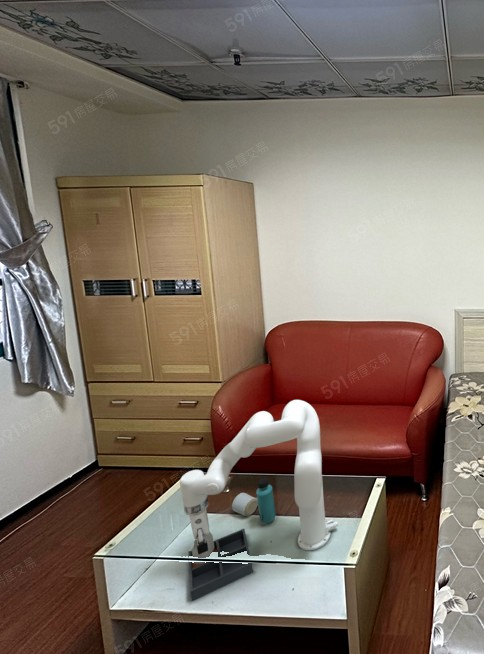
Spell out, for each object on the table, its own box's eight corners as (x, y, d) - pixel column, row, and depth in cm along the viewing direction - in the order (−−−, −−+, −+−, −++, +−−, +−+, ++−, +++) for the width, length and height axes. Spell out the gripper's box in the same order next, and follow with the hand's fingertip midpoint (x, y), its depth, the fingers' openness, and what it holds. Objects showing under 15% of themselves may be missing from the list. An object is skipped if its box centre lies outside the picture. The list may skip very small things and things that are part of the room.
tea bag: (214, 548, 157) (211, 526, 155) (203, 563, 151) (200, 541, 149) (205, 548, 158) (201, 526, 155) (194, 563, 151) (190, 541, 149)
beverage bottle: (279, 515, 178) (274, 475, 173) (271, 527, 171) (266, 486, 167) (265, 514, 178) (260, 474, 174) (256, 526, 172) (251, 485, 167)
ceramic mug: (246, 520, 175) (244, 505, 173) (232, 515, 178) (230, 499, 176) (265, 503, 184) (264, 489, 183) (252, 498, 187) (250, 484, 186)
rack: (245, 536, 167) (244, 528, 166) (253, 572, 151) (252, 563, 150) (189, 560, 156) (188, 551, 155) (191, 601, 141) (190, 591, 140)
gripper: (209, 514, 144) (216, 555, 148) (206, 486, 158) (212, 524, 162) (184, 524, 140) (191, 566, 144) (183, 493, 154) (189, 533, 158)
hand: (202, 543), depth 153 cm, fingers closed on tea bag, 7 cm apart
